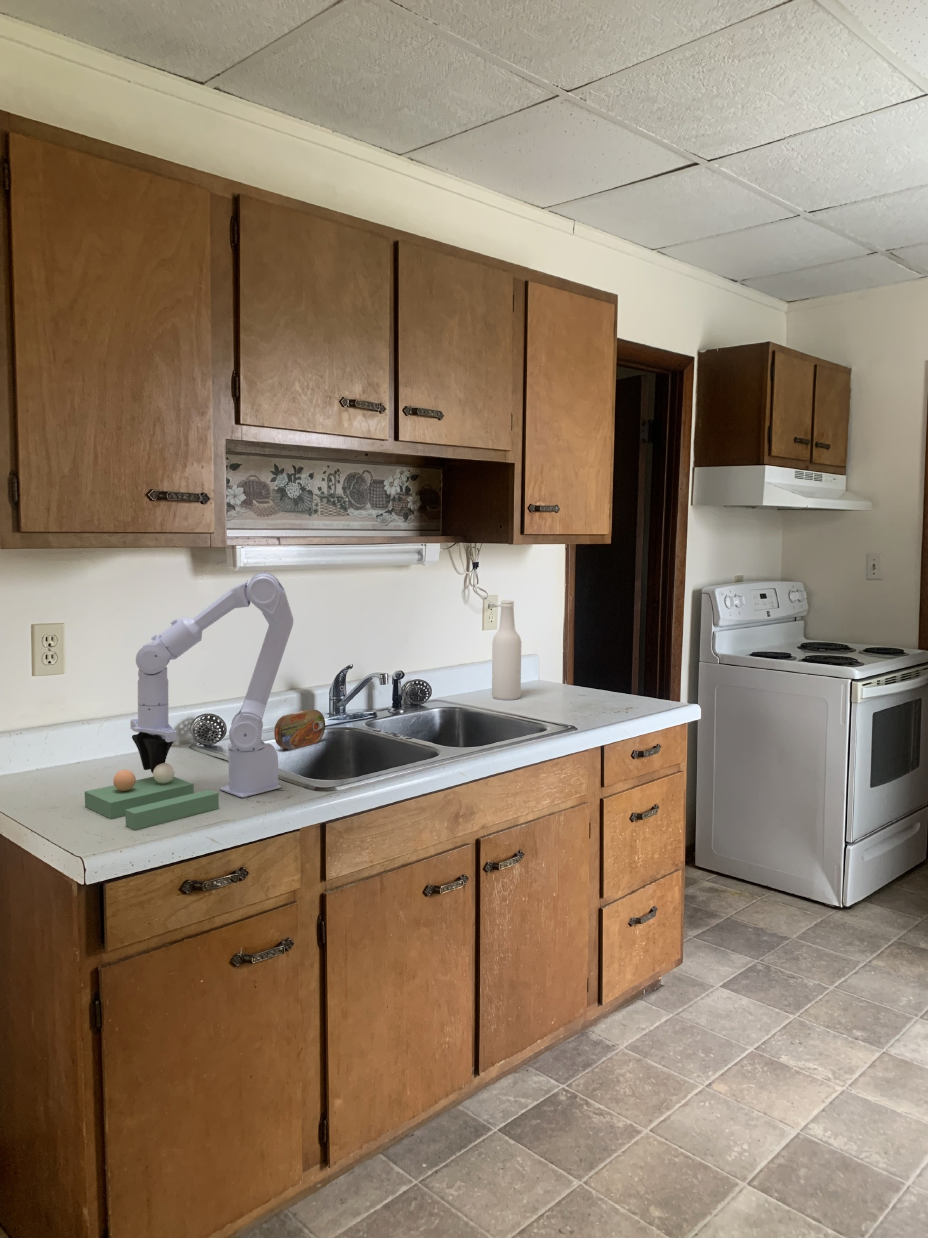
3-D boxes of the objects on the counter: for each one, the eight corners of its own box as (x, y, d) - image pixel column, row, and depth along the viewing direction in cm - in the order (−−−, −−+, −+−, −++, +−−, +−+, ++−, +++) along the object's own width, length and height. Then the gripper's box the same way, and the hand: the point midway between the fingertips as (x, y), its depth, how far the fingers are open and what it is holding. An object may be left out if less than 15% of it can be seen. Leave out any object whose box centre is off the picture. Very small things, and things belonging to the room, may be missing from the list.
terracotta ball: (129, 786, 179) (128, 766, 179) (139, 790, 177) (139, 770, 176) (109, 790, 176) (109, 770, 176) (120, 795, 174) (119, 774, 173)
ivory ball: (167, 773, 185) (168, 756, 183) (177, 783, 183) (179, 767, 181) (148, 779, 182) (149, 762, 180) (159, 790, 180) (160, 773, 178)
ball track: (166, 788, 189) (166, 773, 188) (218, 808, 176) (218, 793, 176) (85, 806, 176) (84, 791, 176) (134, 830, 163) (134, 813, 163)
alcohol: (526, 699, 284) (527, 601, 281) (501, 701, 280) (503, 602, 276) (510, 694, 292) (511, 599, 288) (486, 696, 287) (487, 600, 284)
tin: (281, 753, 217) (280, 718, 216) (272, 751, 219) (271, 716, 218) (326, 741, 230) (326, 707, 229) (317, 739, 231) (317, 705, 230)
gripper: (115, 700, 184) (116, 766, 186) (153, 712, 175) (153, 782, 176) (148, 695, 189) (149, 760, 191) (186, 707, 180) (186, 775, 181)
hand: (153, 770), depth 184 cm, fingers open, 3 cm apart
